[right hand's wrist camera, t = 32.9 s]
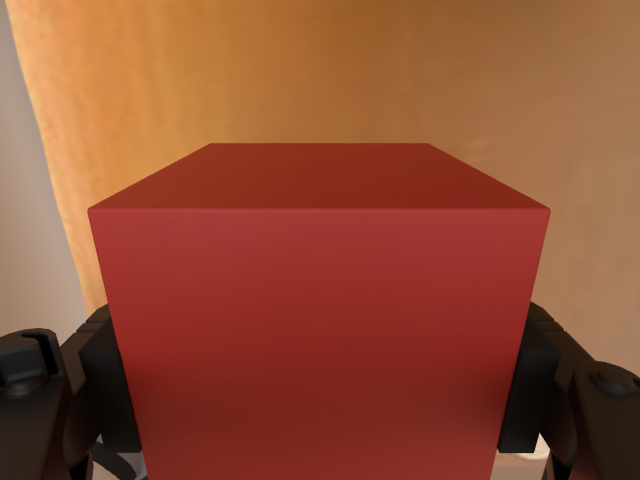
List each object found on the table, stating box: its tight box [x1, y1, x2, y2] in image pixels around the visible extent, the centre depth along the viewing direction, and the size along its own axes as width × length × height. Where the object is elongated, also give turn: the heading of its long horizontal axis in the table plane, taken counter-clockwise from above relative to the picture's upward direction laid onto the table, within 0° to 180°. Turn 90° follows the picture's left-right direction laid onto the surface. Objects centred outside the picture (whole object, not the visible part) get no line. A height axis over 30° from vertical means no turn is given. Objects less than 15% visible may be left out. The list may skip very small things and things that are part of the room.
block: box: [88, 143, 550, 480], centre depth 12 cm, size 8×8×8 cm
